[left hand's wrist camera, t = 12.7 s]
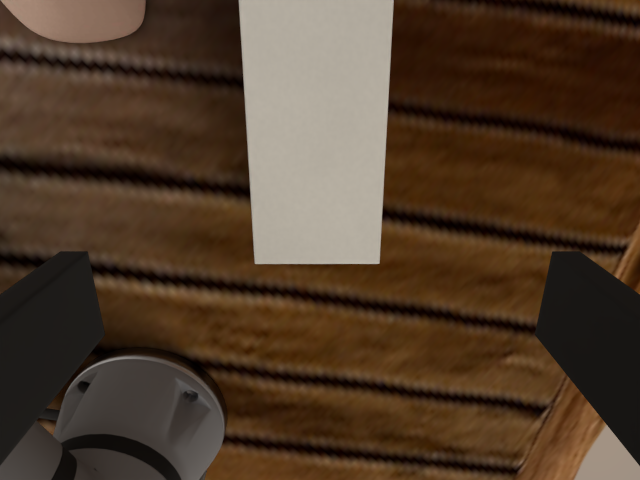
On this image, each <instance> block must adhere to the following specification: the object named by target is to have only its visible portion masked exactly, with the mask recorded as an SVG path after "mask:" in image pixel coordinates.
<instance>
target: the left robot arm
mask: <svg viewBox="0 0 640 480" xmlns="http://www.w3.org/2000/svg"><path fill="white" fill-rule="evenodd" d="M104 335H105V332H104V327H103V322H102V318H101V313H100V308H99V303H98V299H97V294H96V289H95V284H94V280H93V275H92V270H91V265H90V261H89V256H88V252H59V253H58V254H56V255H55V256H53V257H52V258H51V259H49V260H48V261H47V262H45V263H44V264H42V265H41V266H40V267H38V268H37V269H35V270H34V271H33V272H31V273H30V274H28V275H27V276H26V277H24V278H23V279H21V280H20V281H19V282H17V283H16V284H14V285H13V286H12V287H10V288H9V289H7V290H6V291H5V292H3V293H2V294H0V480H204V479H205V475H206V472H207V470H206V469H207V468H208V467H209V465H210V464H211V463H212V461H213V460H214V458H215V457H216V455H217V453H218V451H219V450H220V447H221V445H222V442H223V438H224V434H225V430H226V426H227V408H226V404H225V401H224V398H223V396H222V394H221V392H220V390H219V388H218V387H217V385H216V384H215V383H214V381H213V380H212V379H211V378H210V377H209V376H208V375H207V374H206V373H205V372H204V371H203V370H201V369H200V368H199V367H198V366H196V365H195V364H193V363H192V362H190V361H188V360H186V359H184V358H182V357H180V356H178V355H175V354H172V353H169V352H166V351H162V350H158V349H151V348H125V349H120V350H115V351H112V352H109V353H106V354H104V355H101V356H100V357H98V358H96V359H94V360H93V361H92V362H90V363H89V364H88V365H87V366H86V367H85V368H84V369H83V370H82V371H81V372H80V373H79V375H78V376H77V377H76V379H75V380H74V381H73V382H72V384H71V385H70V387H69V388H68V390H67V392H66V394H65V397H64V400H63V402H62V406H61V409H60V410H54V409H47V407H48V405H49V404H50V403H51V402H52V400H53V399H54V398H55V397H56V395H57V394H58V393H59V392H60V390H61V389H62V388H63V387H64V385H65V384H66V383H67V382H68V380H69V379H70V378H71V377H72V375H73V374H74V373H75V372H76V370H77V369H78V368H79V367H80V365H81V364H82V363H83V362H84V360H85V359H86V358H87V357H88V355H89V354H90V353H91V352H92V350H93V349H94V348H95V347H96V345H97V344H98V343H99V342H100V340H101V339H102V338H103V337H104ZM535 335H536V337H537V338H538V339H539V340H540V342H541V343H542V344H543V345H544V347H545V348H546V349H547V350H548V352H549V353H550V354H551V355H552V357H553V358H554V359H555V360H556V362H557V363H558V364H559V365H560V367H561V368H562V369H563V370H564V372H565V373H566V374H567V375H568V377H569V378H570V379H571V380H572V382H573V383H574V384H575V385H576V387H577V388H578V389H579V390H580V392H581V393H582V394H583V395H584V397H585V398H586V399H587V400H588V402H589V403H590V404H591V405H592V407H593V408H594V409H595V410H596V412H597V413H598V414H599V415H600V417H601V418H602V419H603V420H604V422H605V423H606V424H607V425H608V427H609V428H610V429H611V430H612V432H613V433H614V434H615V435H616V437H617V438H618V439H619V440H620V442H621V443H622V444H623V445H624V447H625V448H626V449H627V450H628V452H629V453H630V454H631V455H632V457H633V458H634V459H635V460H636V462H637V463H638V464H639V465H640V294H638V293H637V292H635V291H634V290H633V289H631V288H630V287H628V286H627V285H626V284H624V283H623V282H621V281H620V280H619V279H617V278H616V277H614V276H613V275H612V274H610V273H609V272H607V271H606V270H605V269H603V268H602V267H600V266H599V265H598V264H596V263H595V262H593V261H592V260H591V259H589V258H588V257H587V256H585V255H584V254H582V253H581V252H552V256H551V261H550V265H549V270H548V275H547V280H546V284H545V289H544V294H543V299H542V303H541V308H540V313H539V318H538V322H537V327H536V332H535ZM38 418H43V419H50V420H57V424H56V427H55V431H54V434H53V436H52V435H51V434H50V433H49V432H48V431H47V430H46V429H45V428H44V427H43V426H41V425H40V424H39V423H38V422H37V421H36V420H37V419H38Z"/></svg>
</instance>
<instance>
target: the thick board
mask: <svg viewBox="0 0 640 480" xmlns="http://www.w3.org/2000/svg"><path fill="white" fill-rule="evenodd" d="M393 2H394V0H239V13H240V29H241V46H242V62H243V79H244V95H245V112H246V128H247V145H248V161H249V178H250V194H251V211H252V227H253V244H254V260H255V264H379V262H380V244H381V225H382V207H383V188H384V170H385V151H386V132H387V114H388V95H389V77H390V58H391V40H392V21H393Z"/></svg>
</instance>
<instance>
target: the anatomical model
mask: <svg viewBox="0 0 640 480" xmlns="http://www.w3.org/2000/svg"><path fill="white" fill-rule="evenodd" d="M1 1H2V2H3V4H4V5H5V6H6V7H7V8H8V9H9V10H10V11H11V12H12V14H13V15H14V16H15V17H16V18H18V19H19V20H20V21H21V22H22V23H23V24H24V25H25V26H26V27H28V28H29V29H31V30H32V31H34V32H35V33H37V34H39V35H41V36H43V37H46V38H49V39H52V40H56V41H61V42H69V43H91V42H101V41H107V40H113V39H117V38H121V37H124V36H127V35H130V34H131V33H133V32H135V31H136V30H137V29H138V28H139V27H140V25H141V24H142V22H143V19H144V14H145V4H146V0H1Z"/></svg>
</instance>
